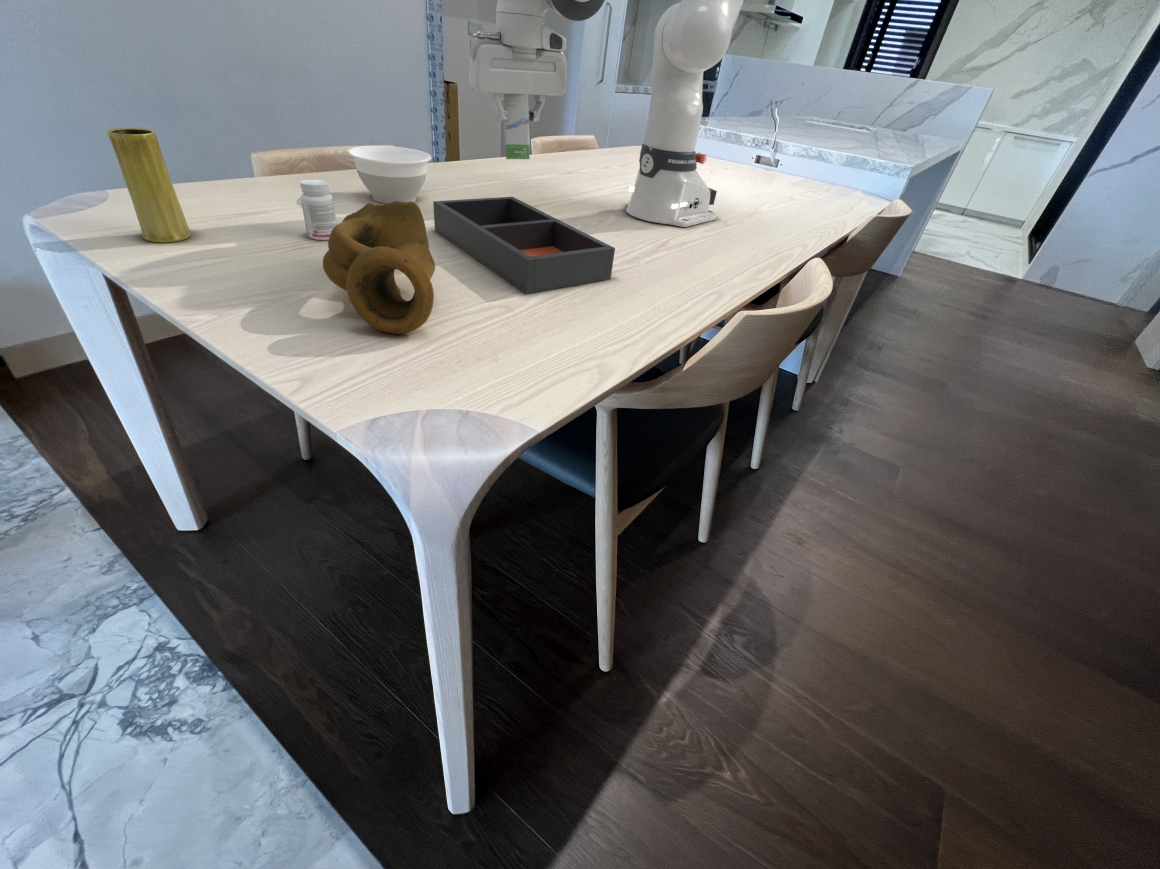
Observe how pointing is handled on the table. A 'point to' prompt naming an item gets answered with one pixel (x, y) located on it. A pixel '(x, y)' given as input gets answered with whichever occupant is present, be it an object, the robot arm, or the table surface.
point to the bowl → (391, 171)
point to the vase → (149, 184)
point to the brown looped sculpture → (383, 264)
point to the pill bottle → (317, 208)
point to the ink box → (517, 126)
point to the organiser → (523, 243)
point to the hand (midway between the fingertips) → (518, 121)
